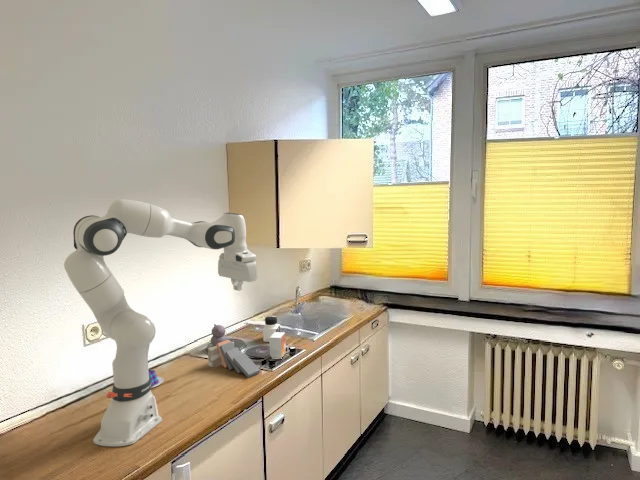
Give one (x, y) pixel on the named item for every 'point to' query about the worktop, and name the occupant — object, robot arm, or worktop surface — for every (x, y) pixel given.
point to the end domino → (221, 352)
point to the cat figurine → (218, 334)
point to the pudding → (154, 378)
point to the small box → (277, 344)
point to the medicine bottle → (270, 327)
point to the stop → (214, 356)
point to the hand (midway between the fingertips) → (237, 290)
